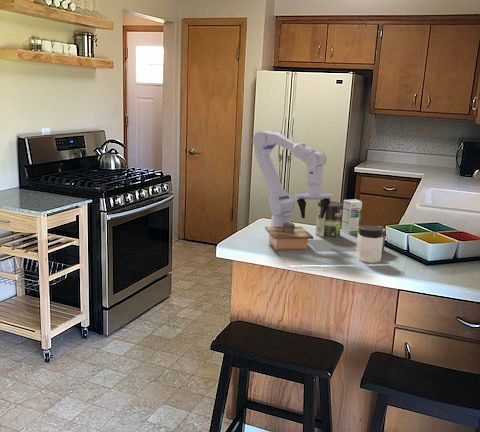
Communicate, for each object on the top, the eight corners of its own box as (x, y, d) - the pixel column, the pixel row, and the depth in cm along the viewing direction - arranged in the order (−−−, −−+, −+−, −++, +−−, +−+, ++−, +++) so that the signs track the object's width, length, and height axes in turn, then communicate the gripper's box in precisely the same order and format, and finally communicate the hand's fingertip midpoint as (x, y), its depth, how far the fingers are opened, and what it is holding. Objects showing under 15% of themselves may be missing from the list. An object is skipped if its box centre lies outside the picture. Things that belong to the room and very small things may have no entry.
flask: (378, 250, 195) (381, 223, 192) (386, 252, 193) (389, 224, 191) (367, 255, 188) (370, 227, 186) (374, 256, 186) (377, 228, 184)
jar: (367, 265, 176) (371, 232, 173) (350, 258, 183) (353, 226, 180) (385, 261, 181) (388, 229, 178) (368, 255, 187) (371, 224, 185)
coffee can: (343, 236, 213) (346, 203, 210) (334, 241, 205) (337, 207, 202) (320, 231, 219) (323, 199, 215) (311, 236, 210) (313, 203, 207)
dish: (268, 241, 199) (269, 229, 198) (298, 241, 201) (299, 229, 200) (276, 250, 188) (276, 238, 187) (307, 250, 190) (308, 237, 189)
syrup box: (348, 235, 215) (351, 201, 212) (340, 231, 220) (343, 199, 217) (359, 234, 217) (363, 201, 214) (351, 231, 222) (354, 198, 219)
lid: (264, 228, 199) (265, 218, 199) (301, 228, 202) (302, 218, 201) (273, 239, 185) (274, 228, 184) (313, 238, 188) (314, 228, 187)
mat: (304, 241, 203) (304, 239, 203) (342, 240, 206) (342, 239, 206) (317, 253, 188) (317, 251, 187) (358, 252, 190) (358, 251, 190)
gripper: (299, 184, 190) (297, 220, 192) (336, 184, 192) (333, 219, 195) (294, 182, 196) (292, 216, 199) (329, 182, 199) (327, 215, 202)
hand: (312, 217), depth 198 cm, fingers open, 7 cm apart
